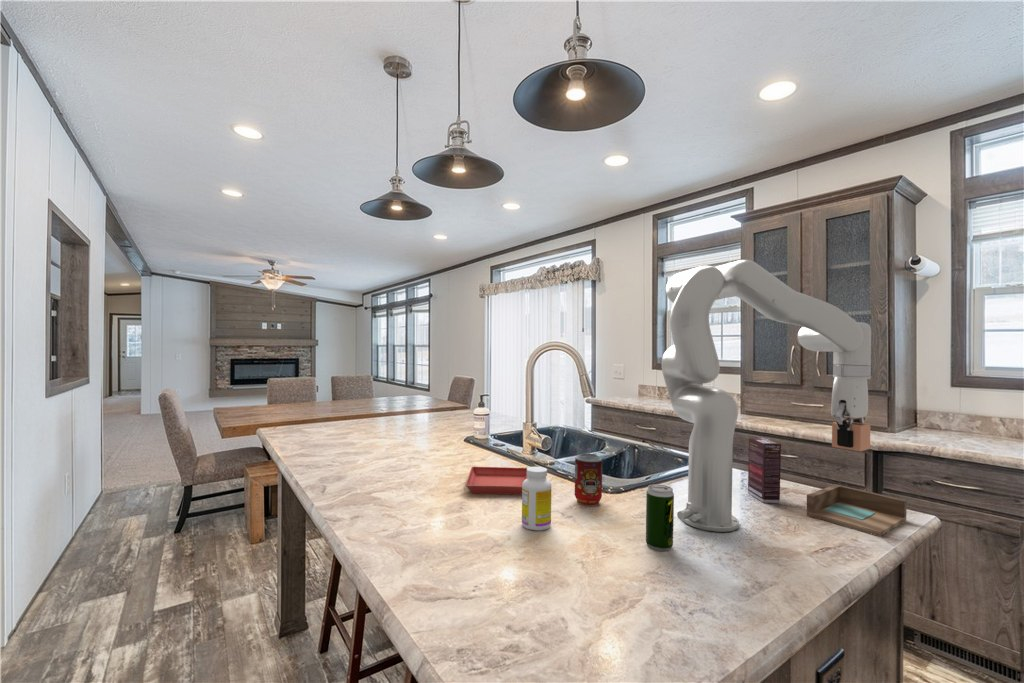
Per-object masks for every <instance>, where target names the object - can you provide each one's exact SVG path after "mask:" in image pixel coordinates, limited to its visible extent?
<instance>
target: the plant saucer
mask: <svg viewBox="0 0 1024 683" xmlns="http://www.w3.org/2000/svg"><path fill="white" fill-rule="evenodd" d="M527 468H528V467H506V466H504V467H501V466H500V467H499V466H472V467H470V469H469V470H470V471H469V473H468V476H467V480H466V482H465V487H466V488H467V489H468V491H469V492H470V493H471V494H480V495H481V494H489V495H490V494H491V495H493V494H494V495H495V494H496V495H522V483H523V481H524V480H525V479H527V478H528V476H527Z"/></svg>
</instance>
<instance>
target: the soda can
mask: <svg viewBox="0 0 1024 683" xmlns="http://www.w3.org/2000/svg"><path fill="white" fill-rule="evenodd" d="M574 497H575V498H576V502H577V504H578V503H579V504H578V505H581V506H585V507H595V506H598V505H599V504H600V501H601V500H602V497H603V458H602V457H600V455H597V454H595V453H590V452H589V453H588V452H585V453H579V454H577V456H575V458H574Z"/></svg>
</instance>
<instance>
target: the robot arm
mask: <svg viewBox="0 0 1024 683" xmlns="http://www.w3.org/2000/svg"><path fill="white" fill-rule="evenodd" d="M665 293H666V297H667V298H668V300H669V301H670V302H672V303H673V304H672V307H671V311H670V314H669V325H670V332H671V337H672V341H673V344H672V345H671V346H669V347H668V348H667V349H666V350H665V351H664V353H663V355H662V358H661V371H662V375H663V380H664V382H665V386H666V390H667V394H668V398H669V401H670V404H671V406H672V410H673V411H674V413H675V414H676V415H677V416H678V417H679V418H680V419H682V420H683V421H685V422H689V423H691V424H693V427H692V430H691V433H690V436H689V442H688V471H687V472H688V476H687V477H688V478H687V479H688V480H687V481H688V482H687V484H688V485H687V502H686V505H685V506H686V507H685V509H682V510H679V511H677V514H676V516H677V519H679V520H680V521H682V522H684V523H685V524H687V525H689V526H690V527H693V528H696V529H699V530H703V531H709V532H717V533H726V532H728V533H729V532H733V531H735V530H737V529H739V526H740V521H739V520H738V518H737V517H736V516H734V515H733V511H732V509H733V507H732V506H733V504H732V503H733V466H734V465H733V463H734V462H733V460H734V458H733V451H734V447H733V446H734V436H735V430H736V425H737V420H738V414H739V408H738V404H737V401H736V400H735V398H734V397H733V396H732V394H730V393H729V392H727V391H725V390H723V389H720V388H718V387H713V386H707V385H704V384H709V383H712V382H714V381H715V380H716V379H717V378H718V376H719V374H720V370H721V369H720V368H721V367H720V366H721V365H720V360H719V356H718V352H717V350H716V346H715V341H714V339H713V334H712V331H711V327H710V313H711V309H712V307H713V304H714V303H715V302H716V301H718V300H723V299H727V298H734V297H737V298H739V299H740V300H742V301H743V302H745V303H746V304H748V305H749V306H750V307H751V308H753V309H755V311H757V312H759V313H760V314H761V315H763V316H764V317H765V318H767V319H769V320H771V321H775V322H778V323H782V324H787V325H788V324H789V325H793V326H799V327H801V328H800V329H799V330H798V332H797V337H796V338H797V342H798V343H799V345H800V346H801V347H803V348H804V349H805V350H808V351H811V352H833V360H832V368H833V369H832V378H834V379H833V384H832V390H831V391H832V392H831V402H830V403H831V404H830V406H831V407H830V414H831V417H833V418H835V422H836V423H837V445H838V446H844V447H850V448H852V447H853V431H851V430H852V424H853V422H857V423H865V420H866V417H867V415H868V412H869V385H868V380H871V378H872V377H871V373H872V372H871V370H872V369H871V368H872V367H871V366H872V365H871V363H872V362H871V361H872V358H871V356H872V328H871V324H869V323H867V322H860V321H859V322H858V321H856V320H855V319H854V318H853V317H851V315H849V314H847V313H846V312H845V311H844V310H842V309H840V308H839V307H838V306H835V305H833V304H831V303H829V302H827V301H824V300H821V299H819V298H816V297H813V296H810V295H808V294H806V293H804V292H803V293H802V292H798V291H796V290H794V289H793V288H791V287H790V286H789V285H787V284H786V283H785V282H783V281H781V280H780V279H779V278H778V277H776V276H775V275H774V274H772V273H770V271H768V270H767V269H765V268H763V267H762V265H760V264H758V263H757V262H755V261H753V260H750V259H740V260H736V261H731V262H728V263H724V264H721V265H717V266H714V265H700V266H696V267H694V268H690V269H687V270H684V271H681V272H677V273H675V274H674V275H672V276H671V277H670V278H669V279H668V281H667V283H666V286H665ZM847 421H848V424H847Z"/></svg>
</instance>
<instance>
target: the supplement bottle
mask: <svg viewBox="0 0 1024 683" xmlns="http://www.w3.org/2000/svg"><path fill="white" fill-rule="evenodd" d="M526 468H527V476H528V478H527V479H525V480H524V481H523V483H522V494H521V525H522V527H524V528H525V529H527V530H530V531H539V532H540V531H544V530H547V529H549V528H550V527H551V524H552V483H551V481H550V480H549V479H547V476H548V469H547V468H546V467H543V466H528V467H526Z"/></svg>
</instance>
